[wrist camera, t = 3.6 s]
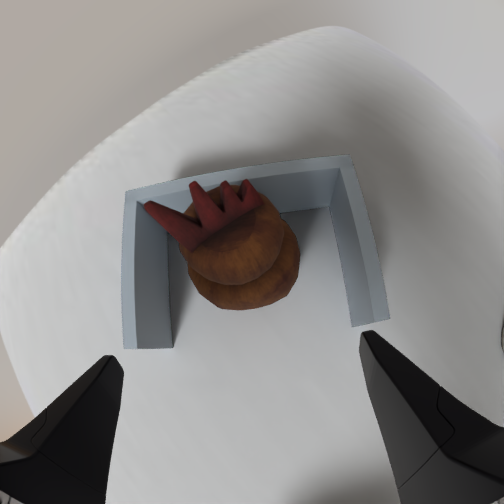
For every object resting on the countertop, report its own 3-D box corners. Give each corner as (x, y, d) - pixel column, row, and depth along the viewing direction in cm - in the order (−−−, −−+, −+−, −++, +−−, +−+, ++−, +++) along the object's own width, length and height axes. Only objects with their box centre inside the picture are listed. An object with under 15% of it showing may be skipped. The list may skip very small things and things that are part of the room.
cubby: (364, 324, 21) (390, 318, 15) (161, 348, 22) (123, 348, 16) (337, 194, 24) (349, 154, 18) (157, 222, 25) (125, 191, 20)
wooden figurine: (217, 321, 22) (103, 284, 8) (206, 251, 24) (109, 137, 10) (304, 303, 22) (335, 233, 8) (287, 233, 24) (283, 88, 9)
